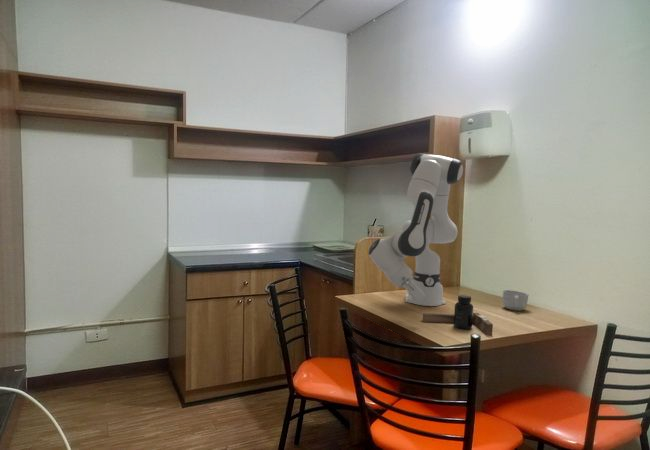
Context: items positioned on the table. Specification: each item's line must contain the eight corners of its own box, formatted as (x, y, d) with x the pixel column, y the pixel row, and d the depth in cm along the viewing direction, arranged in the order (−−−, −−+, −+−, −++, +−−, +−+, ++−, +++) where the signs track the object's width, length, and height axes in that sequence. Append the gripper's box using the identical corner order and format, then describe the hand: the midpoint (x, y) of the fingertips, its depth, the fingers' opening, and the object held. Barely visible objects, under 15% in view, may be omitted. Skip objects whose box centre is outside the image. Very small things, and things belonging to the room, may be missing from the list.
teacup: (503, 305, 216) (505, 288, 215) (528, 308, 210) (530, 291, 210) (498, 311, 204) (500, 293, 203) (525, 315, 198) (526, 296, 198)
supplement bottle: (475, 329, 172) (477, 298, 171) (458, 329, 171) (460, 298, 170) (466, 324, 179) (468, 294, 178) (450, 324, 177) (452, 294, 177)
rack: (422, 320, 182) (423, 309, 182) (477, 322, 182) (478, 311, 182) (431, 332, 166) (432, 320, 166) (492, 335, 166) (492, 323, 166)
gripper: (412, 275, 163) (437, 303, 164) (402, 265, 184) (425, 290, 185) (399, 287, 164) (424, 315, 165) (391, 275, 184) (413, 300, 185)
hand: (425, 302), depth 175 cm, fingers closed
